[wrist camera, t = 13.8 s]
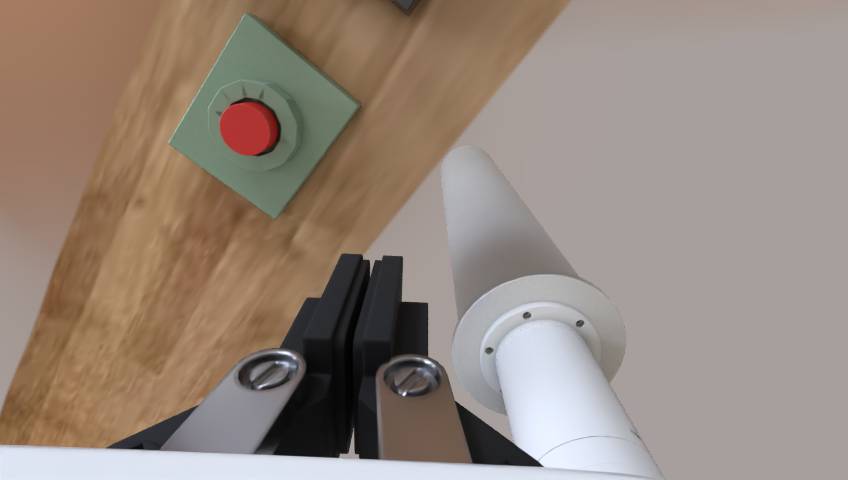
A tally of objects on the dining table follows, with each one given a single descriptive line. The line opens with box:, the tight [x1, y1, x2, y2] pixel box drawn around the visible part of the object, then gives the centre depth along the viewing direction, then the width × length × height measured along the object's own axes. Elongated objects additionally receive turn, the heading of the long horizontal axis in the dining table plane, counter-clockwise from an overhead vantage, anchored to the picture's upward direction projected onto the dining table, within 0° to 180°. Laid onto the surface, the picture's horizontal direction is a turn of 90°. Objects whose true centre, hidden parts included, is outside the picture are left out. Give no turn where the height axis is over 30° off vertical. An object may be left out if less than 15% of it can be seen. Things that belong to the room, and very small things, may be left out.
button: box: [220, 102, 278, 156], centre depth 31 cm, size 4×4×2 cm
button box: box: [168, 13, 361, 219], centre depth 33 cm, size 12×10×4 cm
